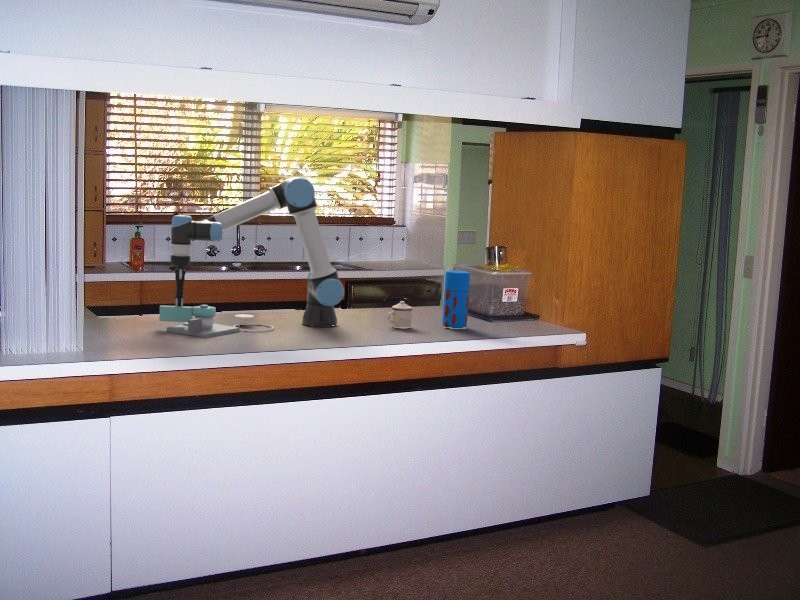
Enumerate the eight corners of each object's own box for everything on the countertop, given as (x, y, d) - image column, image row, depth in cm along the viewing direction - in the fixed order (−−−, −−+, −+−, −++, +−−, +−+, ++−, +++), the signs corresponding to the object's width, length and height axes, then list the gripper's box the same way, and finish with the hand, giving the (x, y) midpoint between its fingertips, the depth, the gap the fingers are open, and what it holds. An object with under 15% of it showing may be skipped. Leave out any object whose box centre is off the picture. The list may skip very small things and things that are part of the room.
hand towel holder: (245, 323, 340) (221, 315, 355) (245, 334, 340) (220, 325, 356) (282, 320, 350) (257, 313, 366) (282, 331, 351) (257, 323, 367)
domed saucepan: (217, 321, 344) (217, 304, 343) (213, 324, 335) (213, 307, 334) (162, 318, 343) (162, 301, 342) (157, 322, 334) (157, 304, 333)
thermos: (456, 325, 389) (459, 270, 386) (471, 329, 380) (475, 273, 377) (437, 326, 383) (440, 270, 380) (451, 330, 374) (455, 273, 371)
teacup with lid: (403, 325, 381) (404, 299, 379) (415, 328, 373) (417, 302, 372) (381, 326, 373) (382, 300, 372) (393, 330, 366) (394, 303, 365)
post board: (239, 331, 344) (240, 315, 343) (200, 338, 324) (201, 321, 323) (201, 325, 353) (201, 309, 352) (160, 332, 333) (161, 315, 332)
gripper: (170, 252, 342) (168, 311, 346) (171, 256, 330) (169, 316, 333) (189, 253, 344) (187, 311, 348) (191, 256, 332) (189, 317, 335)
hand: (178, 314), depth 341 cm, fingers closed
